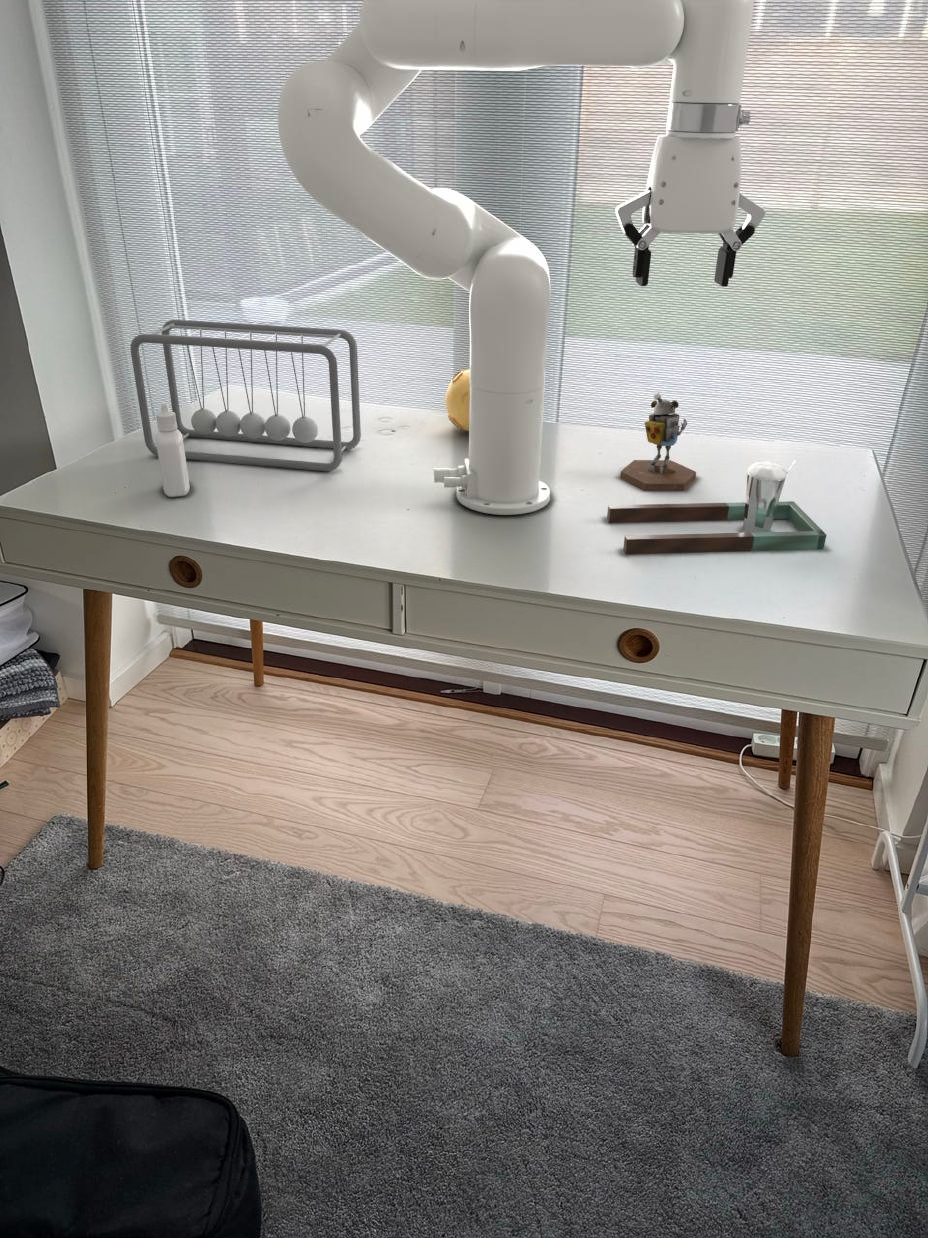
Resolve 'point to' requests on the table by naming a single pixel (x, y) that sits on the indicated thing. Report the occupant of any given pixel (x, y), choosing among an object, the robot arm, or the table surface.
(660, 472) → the robot figurine
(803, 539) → the slide track
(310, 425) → the newton's cradle
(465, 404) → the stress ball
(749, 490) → the milkshake
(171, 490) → the eye dropper bottle
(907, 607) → the table surface
